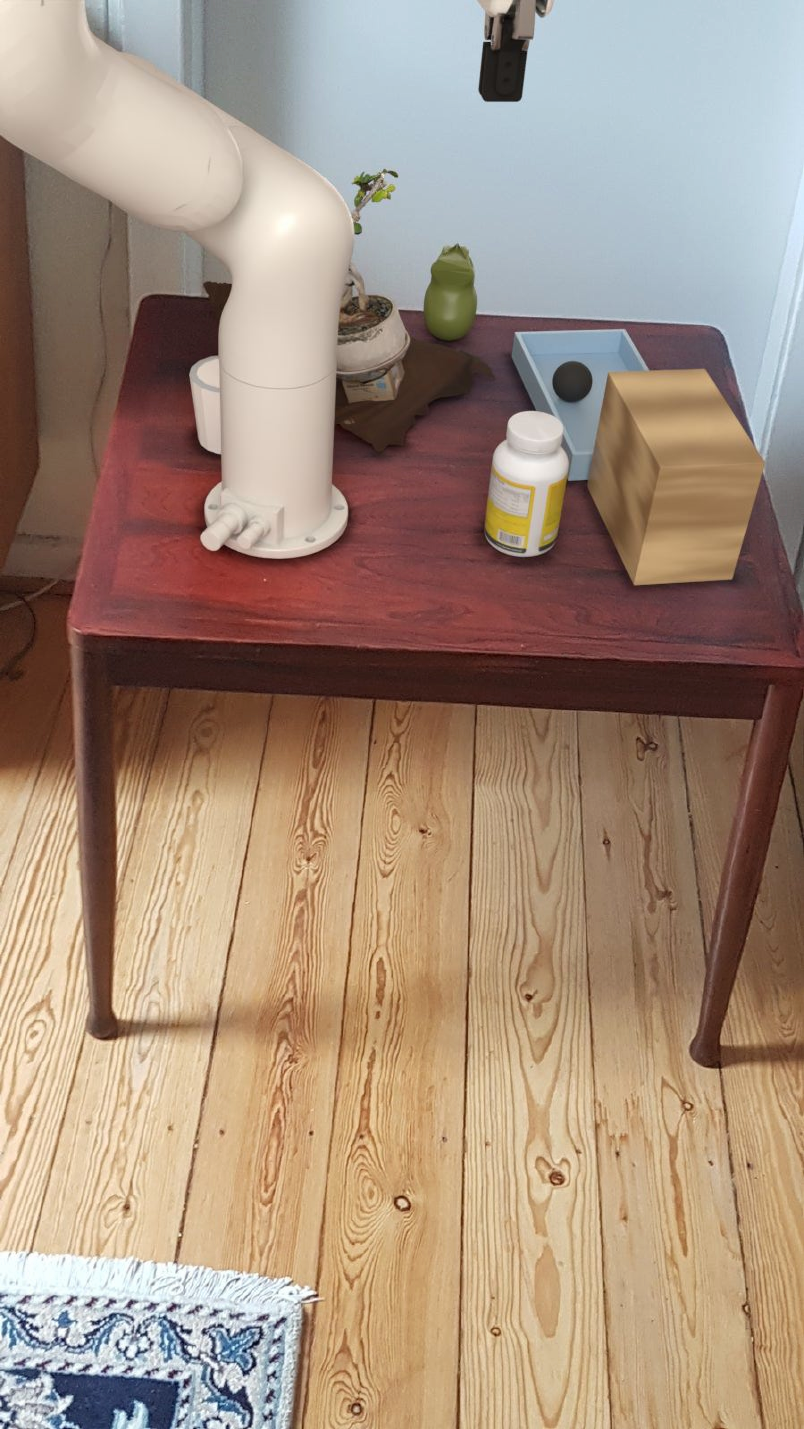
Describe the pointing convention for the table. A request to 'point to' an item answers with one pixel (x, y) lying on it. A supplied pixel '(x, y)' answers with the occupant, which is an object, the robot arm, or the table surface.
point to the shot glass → (207, 402)
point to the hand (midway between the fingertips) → (499, 97)
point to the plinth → (673, 476)
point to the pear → (451, 295)
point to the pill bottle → (527, 486)
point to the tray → (600, 355)
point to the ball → (572, 381)
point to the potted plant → (382, 353)
